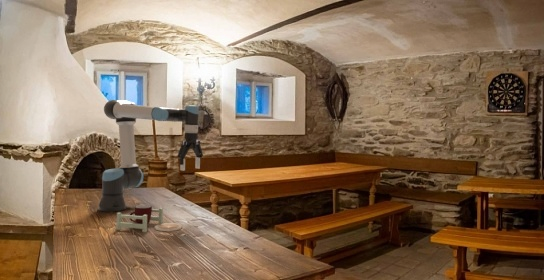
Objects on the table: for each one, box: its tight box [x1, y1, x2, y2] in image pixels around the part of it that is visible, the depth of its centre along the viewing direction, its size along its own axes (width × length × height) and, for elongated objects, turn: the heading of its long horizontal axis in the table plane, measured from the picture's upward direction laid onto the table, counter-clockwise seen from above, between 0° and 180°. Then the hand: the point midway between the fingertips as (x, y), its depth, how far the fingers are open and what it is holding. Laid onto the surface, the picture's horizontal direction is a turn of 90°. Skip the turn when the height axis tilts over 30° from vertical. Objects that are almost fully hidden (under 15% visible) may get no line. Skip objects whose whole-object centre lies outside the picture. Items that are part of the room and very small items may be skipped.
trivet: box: [154, 222, 183, 232], centre depth 202 cm, size 13×13×1 cm
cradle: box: [116, 207, 164, 233], centre depth 203 cm, size 15×18×8 cm
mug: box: [128, 204, 153, 227], centre depth 203 cm, size 10×8×10 cm
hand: (190, 169), depth 234 cm, fingers open, 13 cm apart
